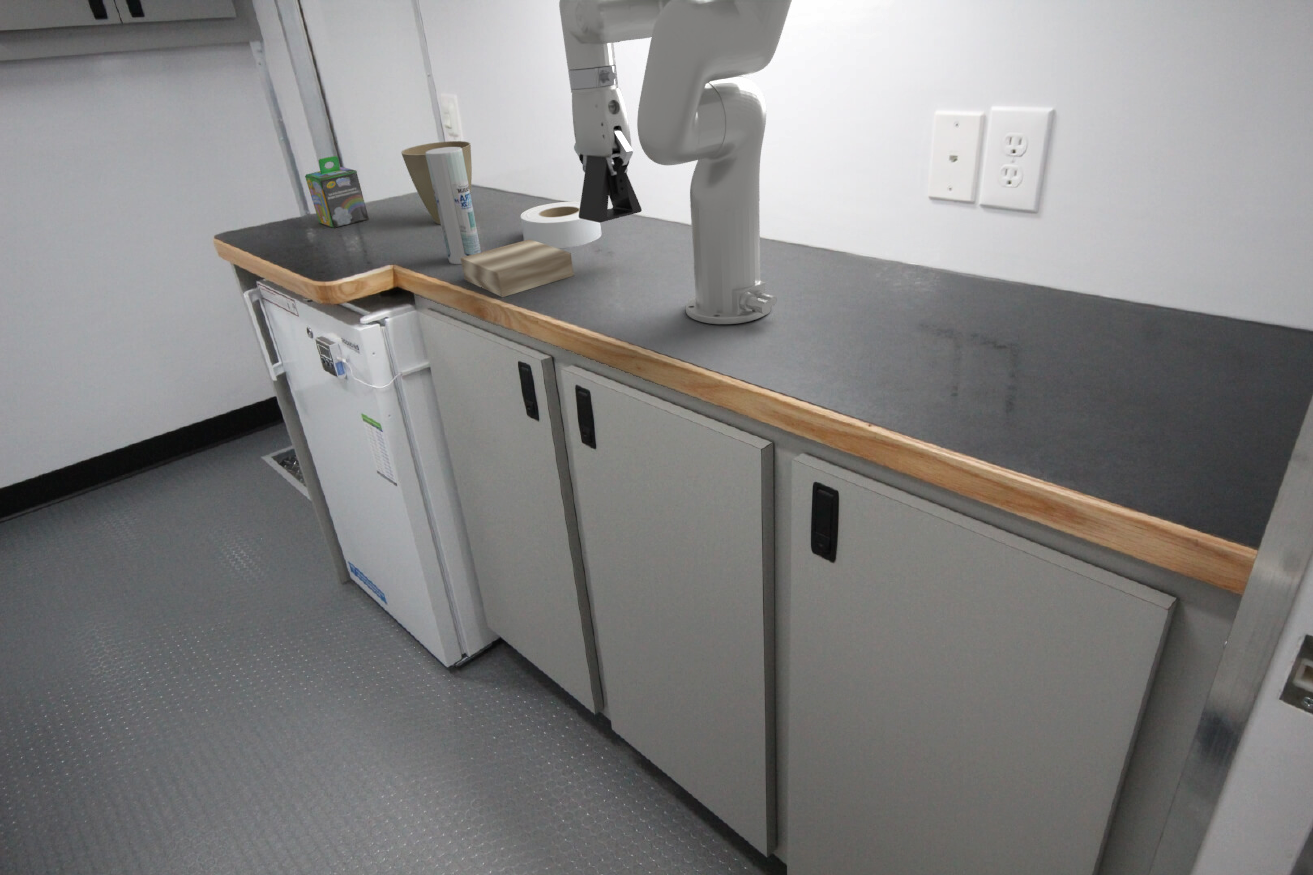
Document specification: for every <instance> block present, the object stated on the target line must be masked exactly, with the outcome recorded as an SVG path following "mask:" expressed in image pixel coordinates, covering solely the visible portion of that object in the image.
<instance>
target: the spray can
mask: <svg viewBox="0 0 1313 875" xmlns="http://www.w3.org/2000/svg"><path fill="white" fill-rule="evenodd" d="M425 154H426V159H427V163H428V168H429V173H430V177H431V182H432V186H433V191H434V195H435V200H436V204H437V209H438V213H439V218H440V223H441V224H440V227H441V232H442V236H443V240H444V244H445V250H446V253H447V258H448V261H449V263H450V264H452V265H462V263H461V258H462V257H465V256H469V255H473V254H477V253H480V252H482V251H481V245H480V240H479V235H478V229H477V223H476V218H475V213H474V212H475V211H474V206H473V200H472V196H471V195H470V190H469V184H468V179H467V173H466V168H465V163H464V157H463V152H462V148H460V147H444V148H437V149H432V150H429V151H427V152H426V153H425Z"/></svg>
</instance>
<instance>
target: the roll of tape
mask: <svg viewBox="0 0 1313 875" xmlns="http://www.w3.org/2000/svg"><path fill="white" fill-rule="evenodd" d="M580 203H581V201H562V202H561V201H560V202H553V203H552V202H551V203H547V204H540V205H537V206H534V207H531V208H529V209H526V210H525V211H523V212H522V213H521V214H520V215H519V216H520V223H521V229H522V236H523V241H525V240H529V239H530V240H533V241H536V242H539V243H542V244H545V245H548V246H551V247H554V248H557V249H560V250H562V249H568V248H574V247H579V246H583V245H587V244H590V243H592V242H594V241H596V240H598V239H600V238H601V237H602V227H601V223H599V222H594V221H589V220H585V219H580V218H579V210H580Z"/></svg>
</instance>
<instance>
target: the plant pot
mask: <svg viewBox="0 0 1313 875" xmlns="http://www.w3.org/2000/svg"><path fill="white" fill-rule="evenodd" d="M444 147H460V148H462V152H463V157H464V163H465V168H466V173H467V179H468V184H469V190H470V195H471V194H472V179H473V178H472V174H473V173H472V168H473V167H472V149H471V147H472V146H471V143H470V142H469V141H464V140H462V141H461V140H455V141H454V140H447V141H439V142H438V141H437V142H432V143H431V142H430V143H425V144H420V145H415V146H410V147H407V148H405V149H403V150H401V153H400V154H401V156H402V158H403V161H404V164H405V166H406V169H407V172H408V174H409V177H410V179H411V181H412V183H413V185H414V187H415V188H414V189H416V191H417V193H418V195H419V196H418V197H420V199H421V202H422V203H423V205H424V207H425V208H426V210H427V211H428V214H429V215H430V217H431V218H432V220H433V221H434V223H436V224H437V225H441V223H440V218H439V213H438V209H437V204H436V200H435V195H434V191H433V186H432V182H431V177H430V173H429V168H428V163H427V159H426V154H425V153H426V152H427V151H429V150H432V149H437V148H444Z"/></svg>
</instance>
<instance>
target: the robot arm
mask: <svg viewBox="0 0 1313 875" xmlns="http://www.w3.org/2000/svg"><path fill="white" fill-rule="evenodd" d="M791 3H792V0H559V3H558V4H559V5H558V6H559V15H560V23H561V28H562V36H563V37H562V38H563V43H564V51H565V58H566V65H567V70H568V72H567V73H568V80H569V87H570V93H571V109H572V110H571V111H572V114H571V115H572V125H573V134H574V140H575V143H574V145H573V149H574V151H575V153H576V155H577V156H578V158H579V161H580V163H581V165H582V171H583V172H584V173H585V169H586V158H587V157H586V156H595V157H606V160H607V165H608V168H609V171H610V174H611V175H610V176H608V180H609V189H610V197H611V200H612V201H616V200H620V199H624V198H627V197H628V188H627V179H626V173H628V170H629V169H628V166H629V164H630V160H631V158H632V156H633V153H634V151H633V148H632V139H631V131H630V125H629V119H628V112H627V109H626V104H625V101H624V100H625V99H624V97H623V93H622V90H621V87H619V82H618V74H617V73H618V72H617V65H616V55H615V54H616V53H615V47H614V43H620V42H621V43H622V42H626V41H633V40H634V41H635V40H642V39H649V38H650V44H649V49H648V54H647V59H646V65H645V70H644V74H643V79H642V86H641V91H640V95H639V96H640V97H639V102H638V110H637V120H636V121H637V122H636V125H637V126H636V128H637V136H638V140H639V144H640V146H641V149H642V150H643V152H644V154H645V156H646V157H647V158H648V159H649V160H651V161H652V162H654V163H655V164H658V165H662V166H676V165H677V166H678V165H681V164H682V165H683V164H686V163H690V162H696V161H697V162H696V164H695V168H694V170H693V173H692V176H691V182H690V187H689V199H690V200H689V203H690V204H689V206H690V221H691V222H690V223H691V239H692V256H693V258H692V259H693V272H694V273H693V274H694V275H693V276H694V291H695V294H694V295H693V296H691V297H690V298H689V299H688V300H687V301H686V303H685V313H686V314H687V316H688V317H689V318H691V319H693V320H695V321H696V322H697V321H698V322H701V323H704V324H705V323H706V324H709V325H711V324H713V325H734V324H737V325H738V324H744V323H747V322H748V323H749V322H752V321H754V320H755V321H756V320H758V319H761V318H763V317H764V316H766V315H768V314H769V313H771V311H772V307H774V306H775V305H777V302H778V298H777V296H775V295H773V294H768V293H766V281H763V280H761V241H760V240H761V239H760V237H761V234H760V231H761V230H760V229H761V228H760V226H761V225H760V224H761V223H760V198H761V197H760V171H761V170H760V168H761V155H762V149H763V148H762V147H763V143H764V136H765V131H766V124H767V105H766V100H765V98H764V95H763V92H762V91H761V89H760V88H759V86H758V85H757V83H756V82H754V81H752V80H751V79H749V78H748V77H746V76H747V75H752V74H755V73H758V72H760V71H761V70H763V69H765V68H766V67H768V65H769V64H770V63H771V61H773V60H772V59H773V58H774V55H775V53H776V51H777V48H778V46H779V43H780V39H781V36H782V33H783V30H784V27H785V24H786V21H787V18H788V14H789V11H790V7H791ZM612 151H616V153H615V154H612V153H613V152H612ZM616 158H618V159H617V161H616V163H615V165H614V162H613V159H616ZM610 197H609V198H610ZM611 200H610V201H611Z"/></svg>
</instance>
